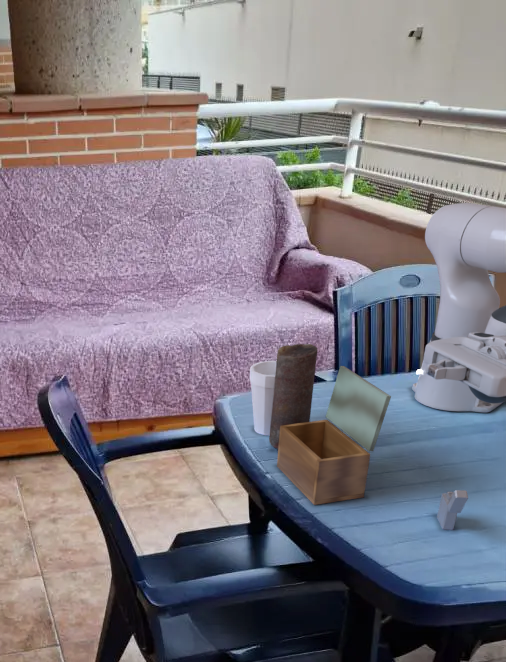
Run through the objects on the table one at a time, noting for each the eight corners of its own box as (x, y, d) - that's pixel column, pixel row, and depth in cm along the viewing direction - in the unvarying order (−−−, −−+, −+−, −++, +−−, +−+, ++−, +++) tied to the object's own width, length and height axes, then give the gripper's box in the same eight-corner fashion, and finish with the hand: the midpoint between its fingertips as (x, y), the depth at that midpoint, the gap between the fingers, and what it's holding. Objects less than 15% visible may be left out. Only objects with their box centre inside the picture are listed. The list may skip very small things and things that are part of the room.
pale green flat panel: (386, 396, 118) (391, 396, 118) (340, 365, 131) (344, 366, 131) (369, 451, 123) (373, 451, 123) (325, 416, 136) (329, 417, 136)
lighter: (436, 516, 121) (446, 472, 117) (447, 516, 121) (458, 472, 116) (446, 539, 115) (456, 493, 111) (458, 539, 115) (469, 494, 111)
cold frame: (314, 505, 126) (319, 461, 122) (276, 466, 139) (280, 425, 135) (363, 497, 127) (370, 454, 123) (322, 459, 141) (327, 419, 136)
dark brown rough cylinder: (307, 456, 142) (318, 354, 131) (268, 454, 143) (276, 353, 133) (306, 440, 148) (316, 341, 138) (268, 438, 150) (276, 340, 139)
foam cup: (295, 422, 156) (301, 362, 149) (290, 440, 148) (296, 378, 142) (250, 418, 159) (253, 359, 152) (242, 436, 151) (246, 374, 144)
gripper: (541, 400, 122) (465, 411, 120) (463, 362, 139) (396, 371, 137) (551, 363, 118) (473, 373, 116) (470, 329, 135) (401, 337, 133)
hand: (431, 372), depth 127 cm, fingers closed
